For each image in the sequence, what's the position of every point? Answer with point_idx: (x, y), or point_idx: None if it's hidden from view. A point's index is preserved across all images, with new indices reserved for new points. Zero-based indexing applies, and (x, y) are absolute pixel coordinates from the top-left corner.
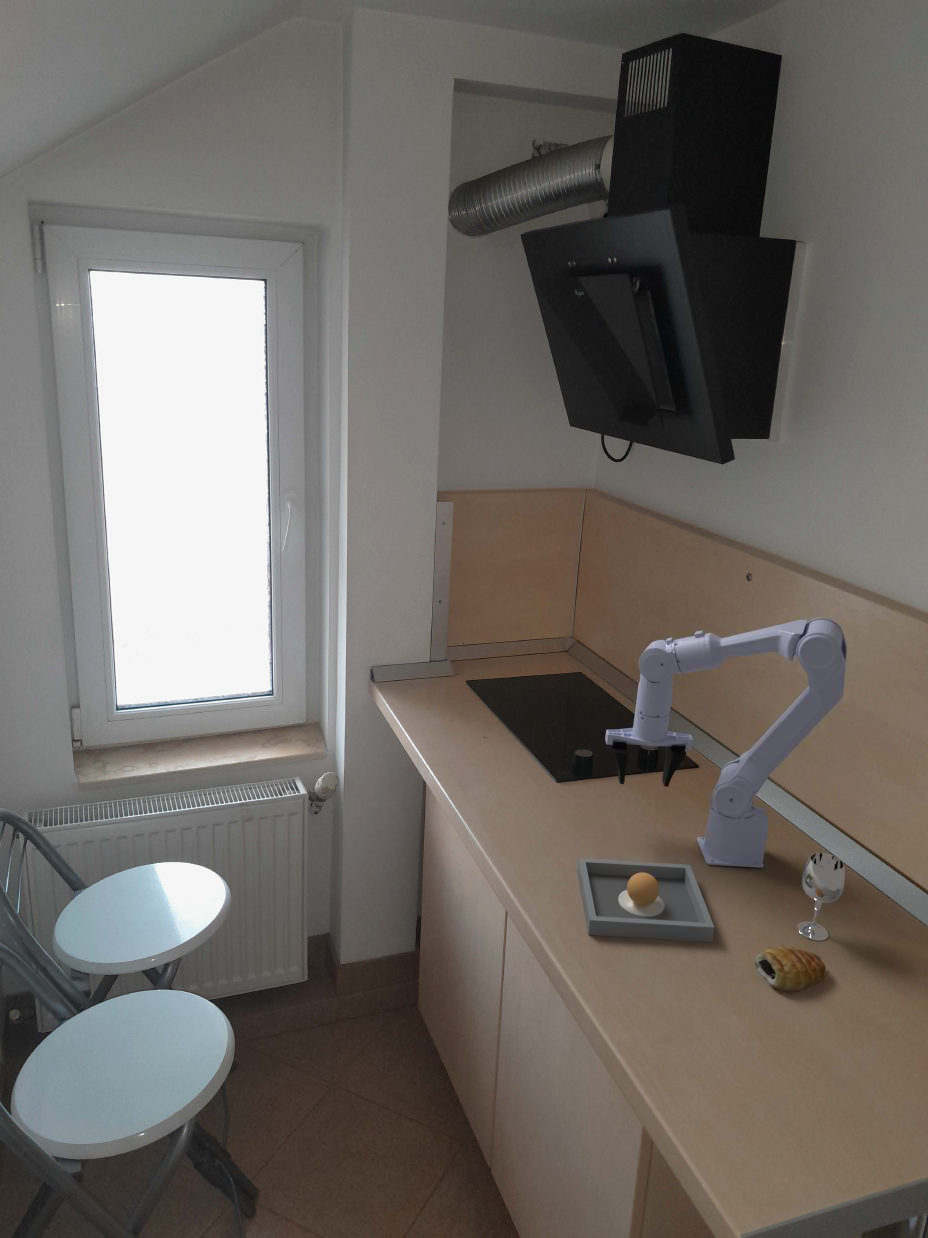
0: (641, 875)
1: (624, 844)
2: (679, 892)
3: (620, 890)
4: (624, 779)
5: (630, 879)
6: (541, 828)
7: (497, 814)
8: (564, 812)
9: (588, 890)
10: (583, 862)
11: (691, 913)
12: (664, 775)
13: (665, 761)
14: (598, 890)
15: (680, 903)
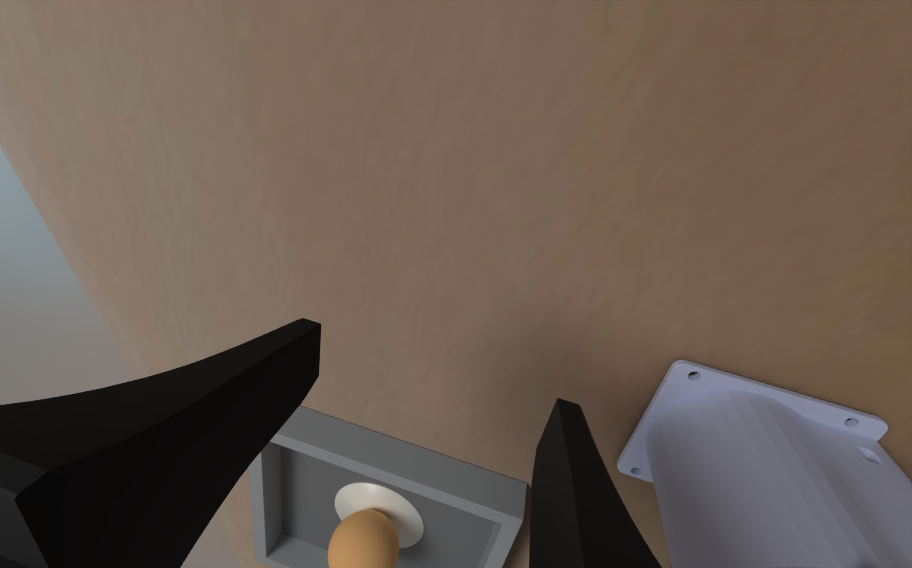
0: None
1: (414, 323)
2: (472, 521)
3: (346, 478)
4: (298, 403)
5: (328, 554)
6: (184, 197)
7: (48, 89)
8: (254, 98)
9: (258, 509)
10: None
11: (467, 565)
12: (547, 464)
13: (572, 509)
14: (301, 466)
15: (458, 541)
